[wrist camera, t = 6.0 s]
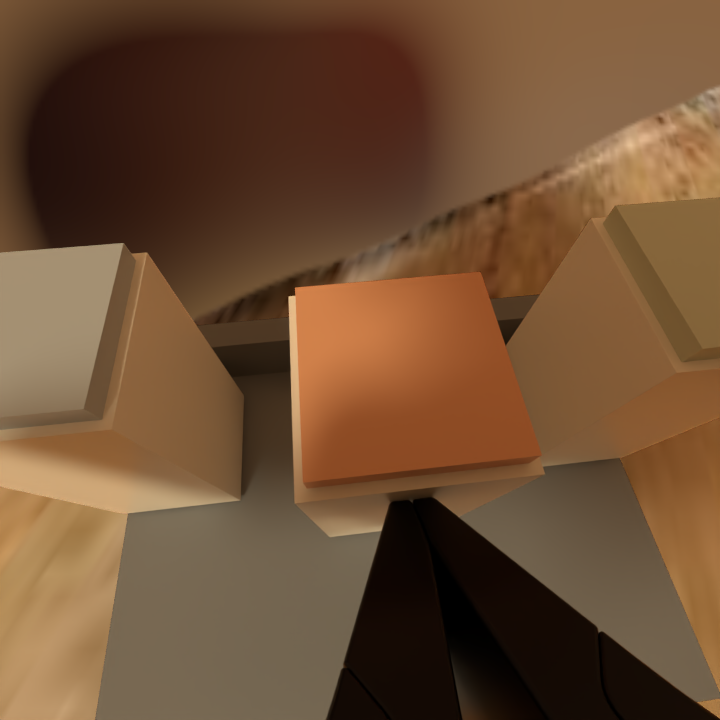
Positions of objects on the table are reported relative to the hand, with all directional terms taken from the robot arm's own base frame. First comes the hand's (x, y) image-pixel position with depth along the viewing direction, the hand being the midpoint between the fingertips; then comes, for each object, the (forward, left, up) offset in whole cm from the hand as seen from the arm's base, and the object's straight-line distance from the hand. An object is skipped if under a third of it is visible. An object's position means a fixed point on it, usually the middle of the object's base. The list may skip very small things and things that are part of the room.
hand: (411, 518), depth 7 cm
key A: (0, +8, -6) cm, 10 cm away
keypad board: (+1, +1, -8) cm, 8 cm away
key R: (+2, +1, -6) cm, 7 cm away
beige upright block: (+7, -4, -6) cm, 10 cm away
